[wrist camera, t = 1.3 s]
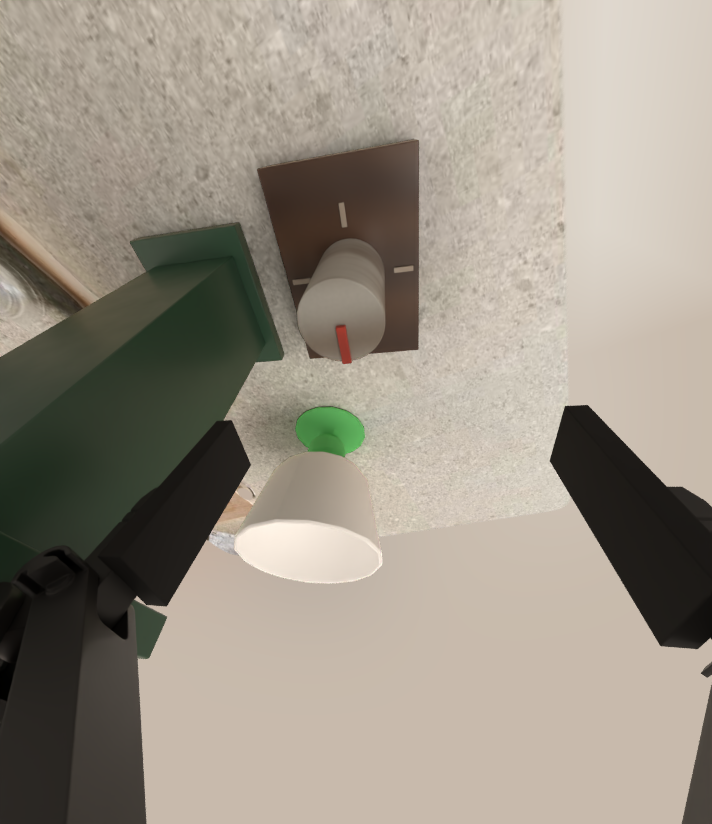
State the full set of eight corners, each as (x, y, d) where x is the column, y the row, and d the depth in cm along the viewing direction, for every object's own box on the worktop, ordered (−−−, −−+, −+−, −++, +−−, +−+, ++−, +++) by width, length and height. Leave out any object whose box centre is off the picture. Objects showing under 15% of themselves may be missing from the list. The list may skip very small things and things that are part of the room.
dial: (311, 243, 22) (283, 286, 15) (381, 233, 21) (381, 274, 15) (326, 310, 25) (307, 367, 19) (386, 303, 24) (388, 361, 18)
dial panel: (269, 165, 21) (255, 169, 19) (414, 139, 20) (419, 139, 17) (315, 342, 30) (309, 359, 28) (415, 333, 29) (418, 350, 27)
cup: (302, 469, 45) (275, 585, 34) (258, 402, 36) (200, 528, 25) (393, 457, 42) (397, 582, 30) (367, 380, 33) (359, 513, 22)
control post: (137, 237, 25) (-742, 612, 5) (239, 221, 24) (-427, 634, 4) (205, 361, 33) (-51, 690, 13) (284, 354, 32) (128, 706, 12)
